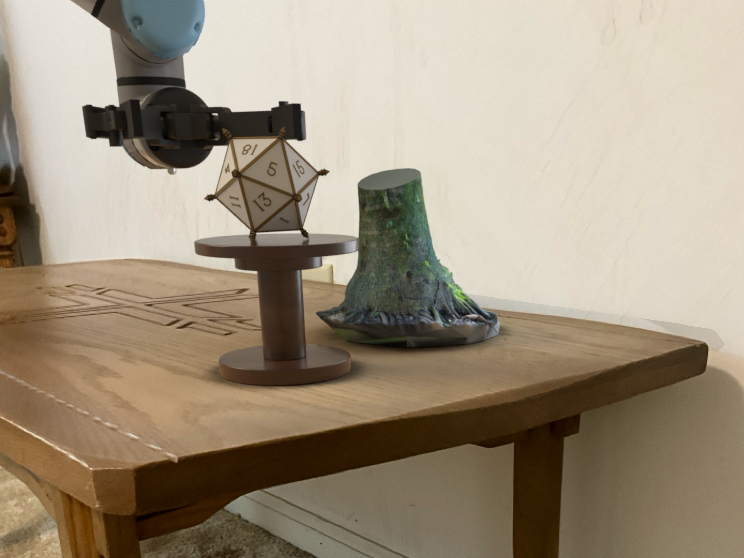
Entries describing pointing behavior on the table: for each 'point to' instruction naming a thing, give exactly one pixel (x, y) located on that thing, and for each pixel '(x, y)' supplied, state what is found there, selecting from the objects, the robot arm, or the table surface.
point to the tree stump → (403, 275)
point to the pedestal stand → (281, 307)
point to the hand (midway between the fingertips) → (220, 119)
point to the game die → (266, 184)
